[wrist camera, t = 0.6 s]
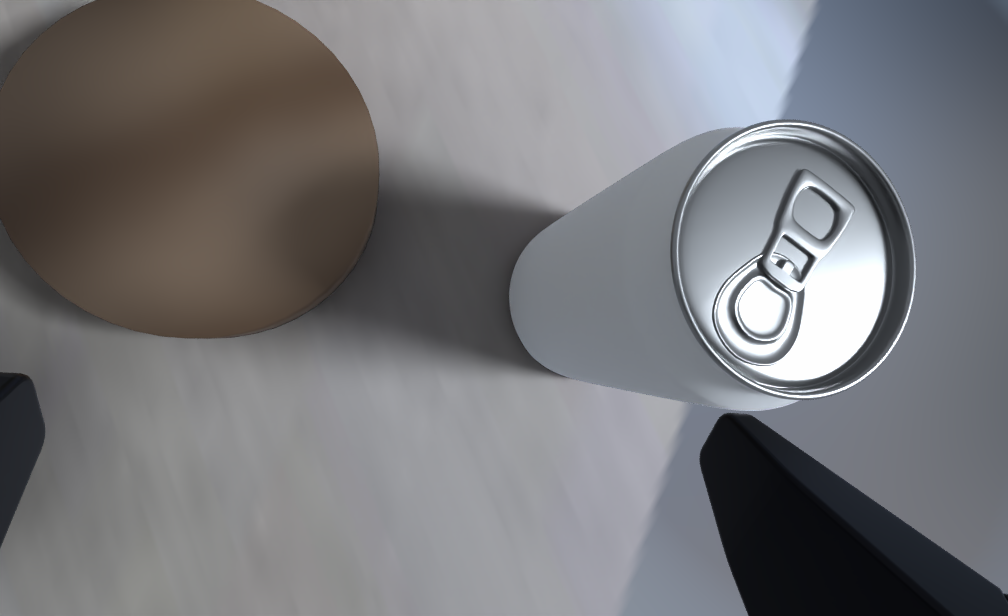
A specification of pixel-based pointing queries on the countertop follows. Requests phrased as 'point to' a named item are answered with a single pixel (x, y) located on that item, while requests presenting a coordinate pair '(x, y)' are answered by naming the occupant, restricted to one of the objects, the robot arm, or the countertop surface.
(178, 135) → the walnut stand
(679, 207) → the can
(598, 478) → the countertop surface
